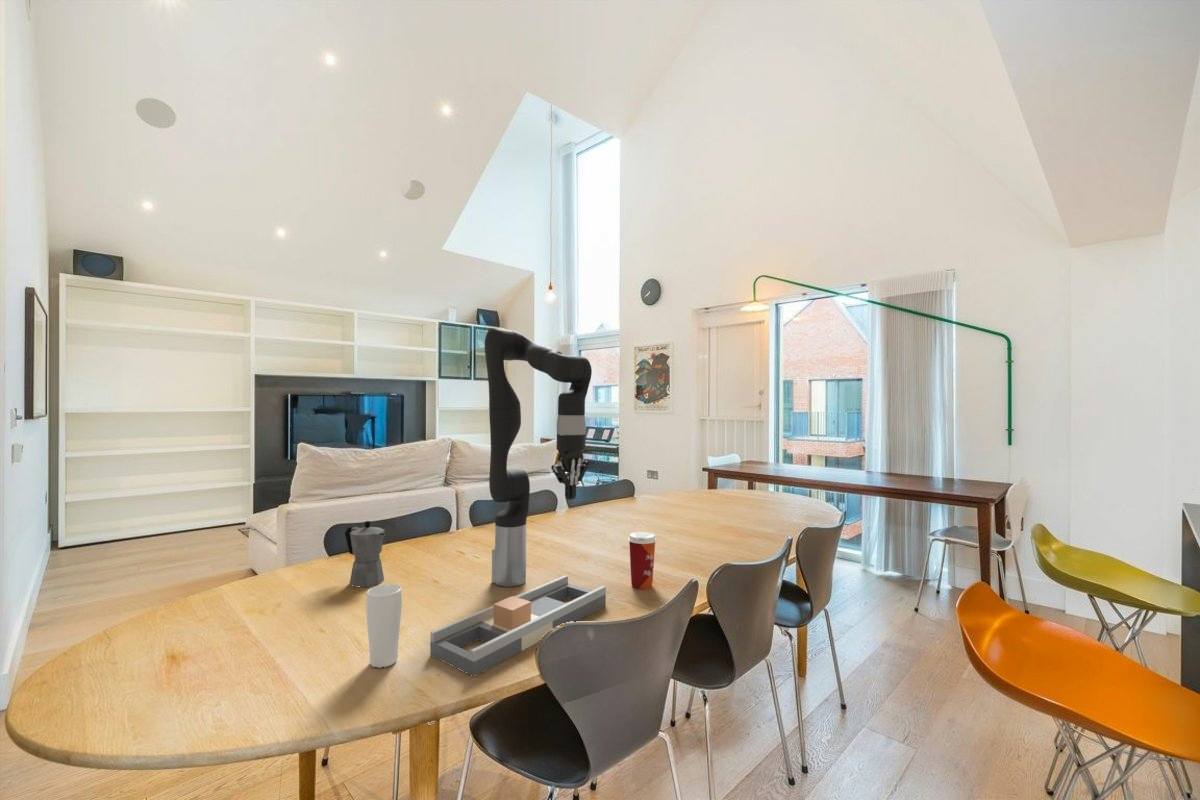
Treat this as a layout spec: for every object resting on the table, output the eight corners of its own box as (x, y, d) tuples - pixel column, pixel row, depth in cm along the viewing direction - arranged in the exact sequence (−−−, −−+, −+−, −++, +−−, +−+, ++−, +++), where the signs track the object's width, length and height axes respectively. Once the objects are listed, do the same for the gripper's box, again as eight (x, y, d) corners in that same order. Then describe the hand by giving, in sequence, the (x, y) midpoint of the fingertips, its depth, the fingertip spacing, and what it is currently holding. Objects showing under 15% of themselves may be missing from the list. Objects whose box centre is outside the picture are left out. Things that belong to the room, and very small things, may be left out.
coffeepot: (396, 580, 153) (396, 520, 153) (370, 591, 144) (371, 527, 144) (358, 572, 159) (358, 514, 159) (331, 582, 150) (332, 521, 150)
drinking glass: (391, 651, 110) (391, 581, 110) (407, 661, 106) (408, 589, 106) (359, 663, 105) (360, 590, 105) (376, 674, 101) (376, 598, 101)
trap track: (565, 593, 144) (565, 575, 144) (605, 605, 136) (605, 586, 136) (430, 655, 109) (430, 631, 109) (473, 677, 100) (474, 651, 100)
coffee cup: (654, 592, 145) (655, 539, 145) (625, 590, 147) (626, 537, 147) (657, 582, 153) (657, 532, 153) (629, 580, 155) (630, 530, 155)
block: (512, 614, 122) (512, 595, 122) (530, 621, 119) (531, 601, 119) (493, 623, 117) (493, 604, 117) (512, 630, 114) (512, 610, 114)
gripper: (576, 430, 141) (575, 493, 141) (543, 433, 131) (542, 501, 131) (598, 432, 137) (597, 497, 137) (565, 434, 126) (564, 505, 126)
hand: (570, 499), depth 134 cm, fingers closed
